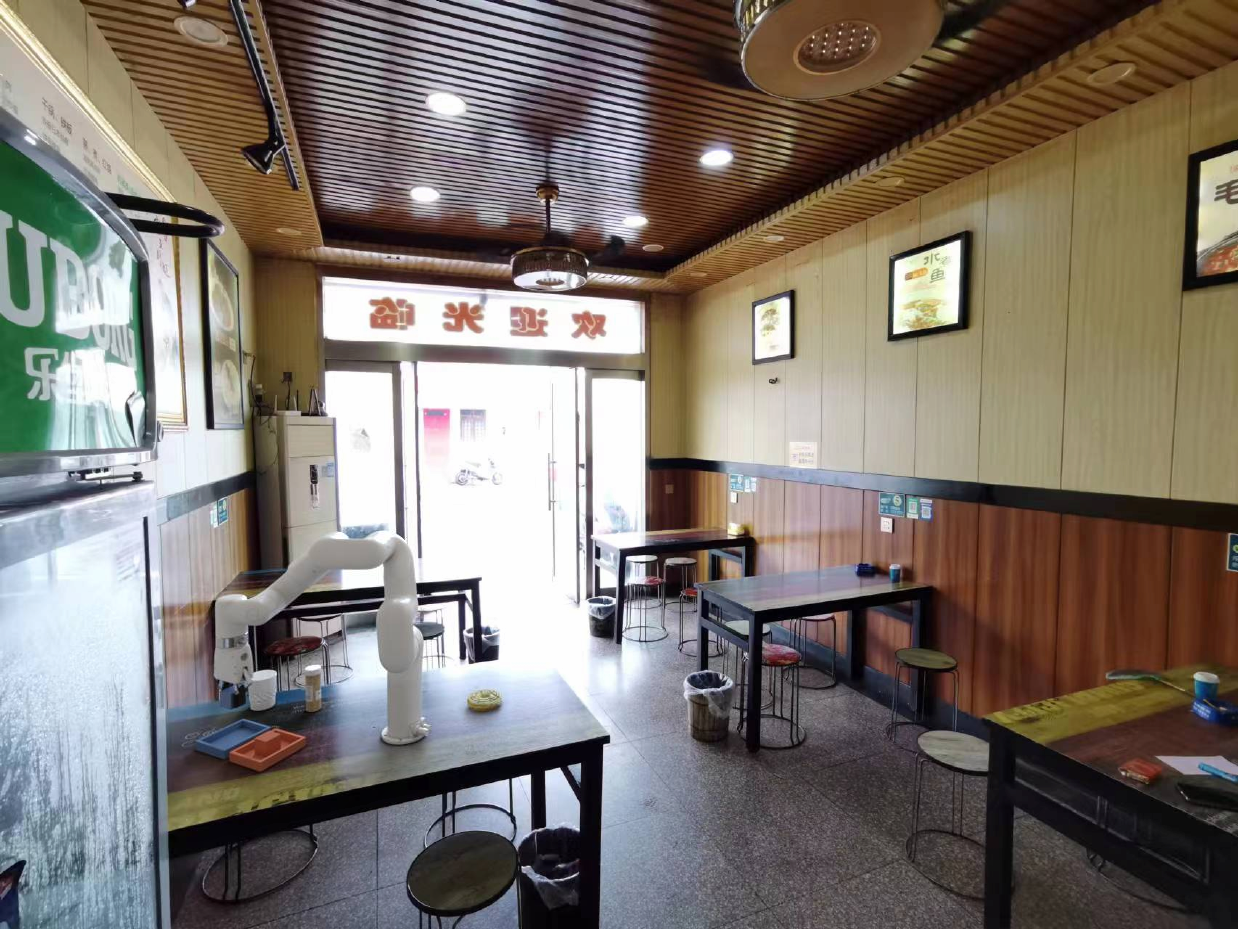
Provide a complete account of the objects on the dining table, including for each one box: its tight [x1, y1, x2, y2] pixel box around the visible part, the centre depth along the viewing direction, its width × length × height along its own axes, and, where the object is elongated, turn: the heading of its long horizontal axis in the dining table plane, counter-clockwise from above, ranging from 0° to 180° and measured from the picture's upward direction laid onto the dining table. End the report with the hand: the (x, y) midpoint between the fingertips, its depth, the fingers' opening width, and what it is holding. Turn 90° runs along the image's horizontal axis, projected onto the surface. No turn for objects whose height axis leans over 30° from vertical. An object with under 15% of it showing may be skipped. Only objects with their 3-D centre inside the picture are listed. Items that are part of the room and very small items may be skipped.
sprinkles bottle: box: [304, 664, 323, 713], centre depth 186 cm, size 5×5×13 cm
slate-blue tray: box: [194, 718, 272, 760], centre depth 166 cm, size 12×14×2 cm
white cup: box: [247, 669, 278, 712], centre depth 187 cm, size 8×8×10 cm
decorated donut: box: [466, 689, 503, 712], centre depth 191 cm, size 10×11×4 cm
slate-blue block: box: [219, 685, 241, 711], centre depth 165 cm, size 4×4×4 cm
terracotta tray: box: [228, 728, 307, 773], centre depth 161 cm, size 12×14×2 cm
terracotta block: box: [254, 730, 281, 757], centre depth 161 cm, size 4×4×4 cm
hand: (233, 703), depth 165 cm, fingers closed on slate-blue block, 4 cm apart
